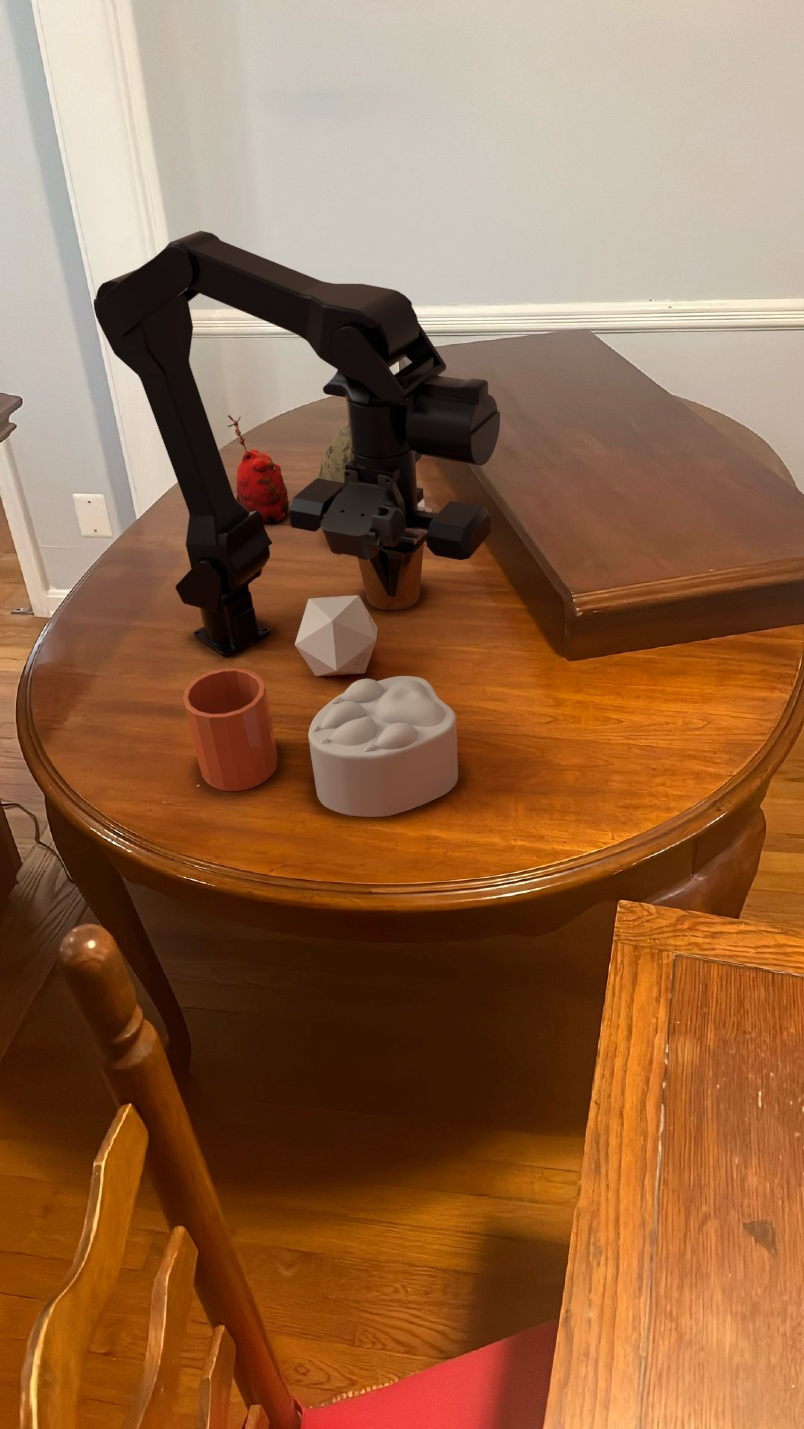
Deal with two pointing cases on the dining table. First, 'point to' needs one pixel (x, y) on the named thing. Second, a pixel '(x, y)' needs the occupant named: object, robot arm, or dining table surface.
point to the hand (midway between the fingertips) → (393, 594)
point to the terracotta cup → (231, 728)
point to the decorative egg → (336, 457)
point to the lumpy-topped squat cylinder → (383, 747)
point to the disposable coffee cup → (409, 586)
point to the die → (336, 635)
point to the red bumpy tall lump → (260, 484)
